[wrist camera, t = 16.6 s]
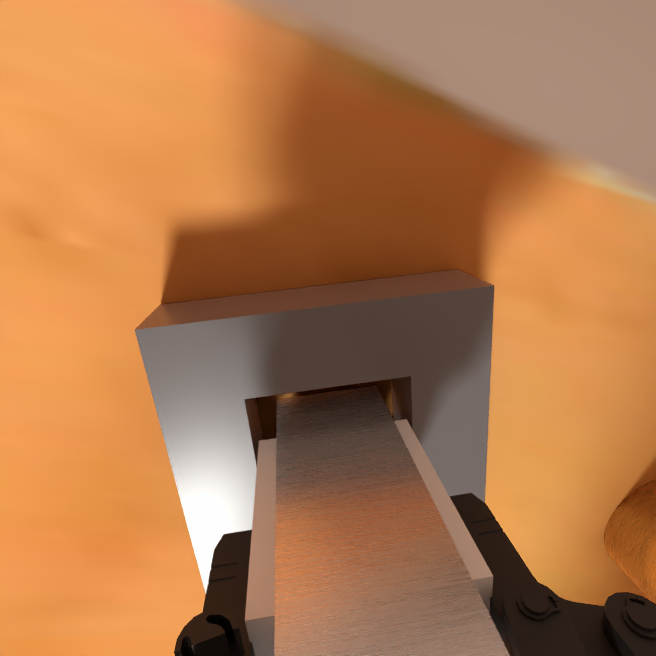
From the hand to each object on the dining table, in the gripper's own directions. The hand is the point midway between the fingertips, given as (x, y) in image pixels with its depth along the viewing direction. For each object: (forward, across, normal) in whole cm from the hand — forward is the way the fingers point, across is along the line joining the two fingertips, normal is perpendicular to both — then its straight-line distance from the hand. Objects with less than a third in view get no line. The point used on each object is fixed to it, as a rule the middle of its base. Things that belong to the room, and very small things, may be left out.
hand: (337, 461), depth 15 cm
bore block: (+3, 0, 0) cm, 3 cm away
